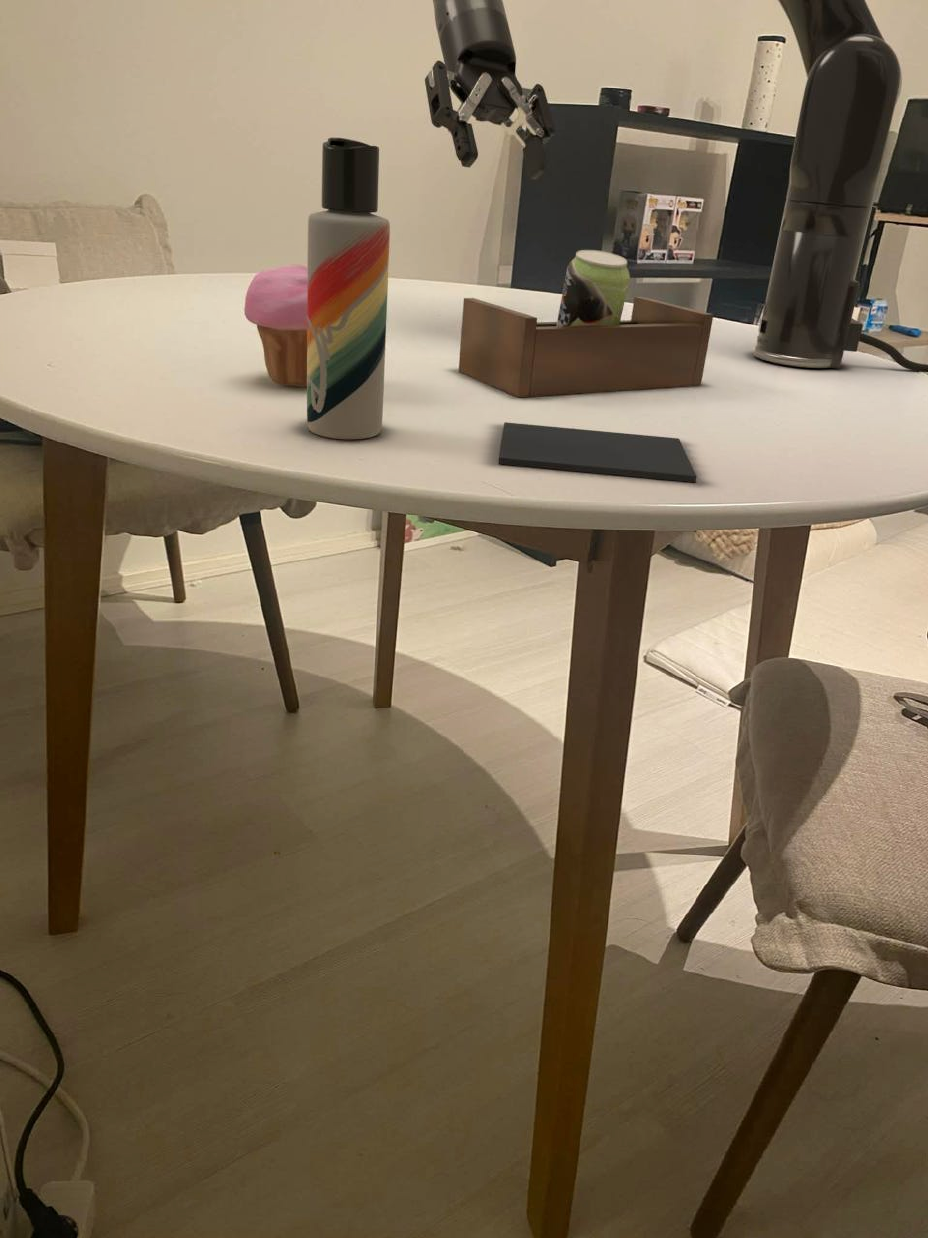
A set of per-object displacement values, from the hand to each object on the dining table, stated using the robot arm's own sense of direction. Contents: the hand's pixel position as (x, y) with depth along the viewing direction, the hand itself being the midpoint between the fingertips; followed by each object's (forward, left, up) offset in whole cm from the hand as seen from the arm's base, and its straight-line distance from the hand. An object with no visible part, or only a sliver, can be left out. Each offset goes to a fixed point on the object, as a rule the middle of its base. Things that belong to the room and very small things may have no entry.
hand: (505, 168), depth 102 cm
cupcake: (+16, +26, -18) cm, 36 cm away
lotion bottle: (+9, +40, -18) cm, 45 cm away
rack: (-10, +13, -18) cm, 24 cm away
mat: (-10, +40, -18) cm, 45 cm away
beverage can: (-10, +13, -18) cm, 25 cm away
